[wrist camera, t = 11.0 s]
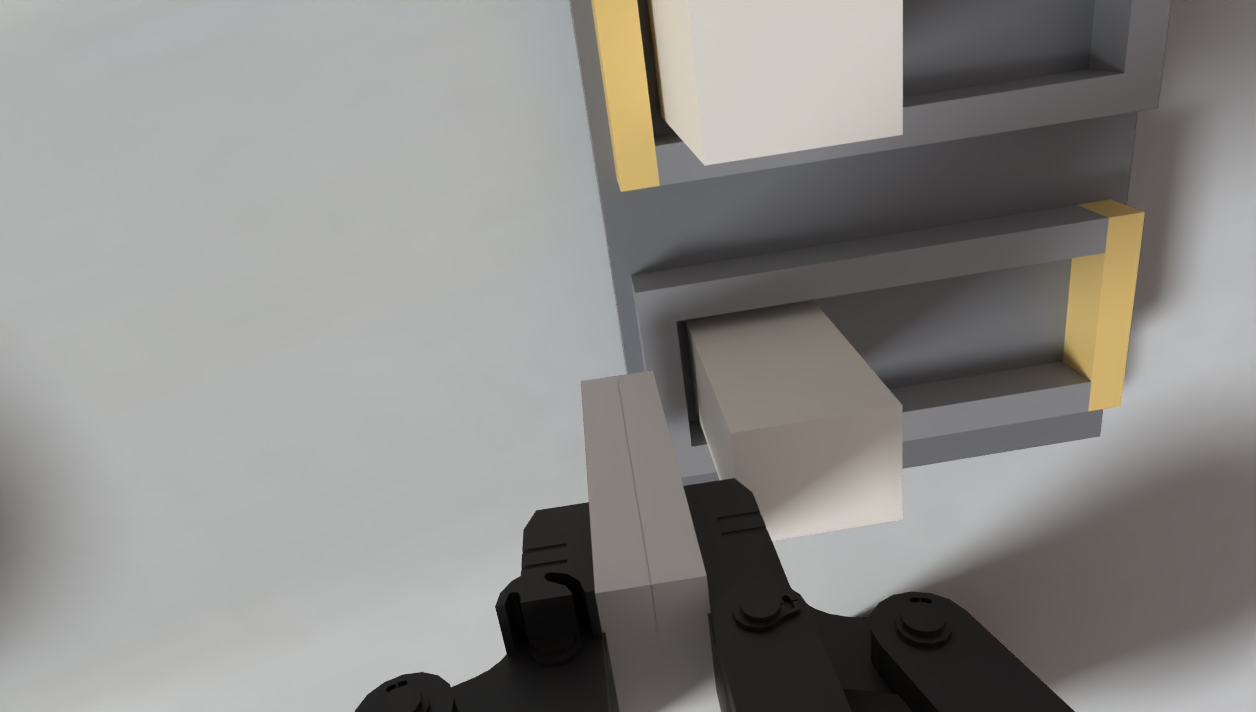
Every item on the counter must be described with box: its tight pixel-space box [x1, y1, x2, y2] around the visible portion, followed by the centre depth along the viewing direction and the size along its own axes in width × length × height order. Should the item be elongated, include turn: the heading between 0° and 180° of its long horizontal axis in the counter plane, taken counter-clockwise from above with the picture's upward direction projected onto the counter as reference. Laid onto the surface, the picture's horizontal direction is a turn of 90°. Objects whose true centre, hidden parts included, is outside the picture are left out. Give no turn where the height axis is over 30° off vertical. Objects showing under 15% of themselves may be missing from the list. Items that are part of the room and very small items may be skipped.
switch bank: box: [570, 0, 1171, 486], centre depth 17 cm, size 22×12×3 cm, turn 8°
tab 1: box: [647, 0, 903, 166], centre depth 14 cm, size 2×3×6 cm
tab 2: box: [685, 300, 903, 541], centre depth 17 cm, size 2×3×6 cm
